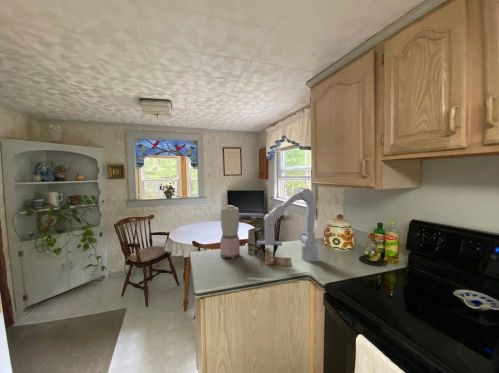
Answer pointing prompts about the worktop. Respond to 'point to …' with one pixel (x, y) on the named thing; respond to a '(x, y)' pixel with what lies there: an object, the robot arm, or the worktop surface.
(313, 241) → the robot arm
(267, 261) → the block
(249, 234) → the coffee box
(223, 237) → the blender
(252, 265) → the worktop surface
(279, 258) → the base
